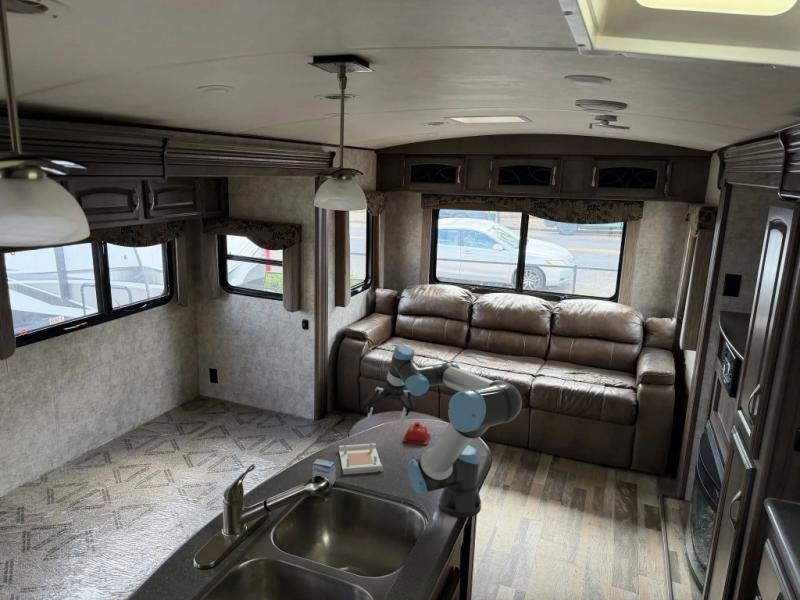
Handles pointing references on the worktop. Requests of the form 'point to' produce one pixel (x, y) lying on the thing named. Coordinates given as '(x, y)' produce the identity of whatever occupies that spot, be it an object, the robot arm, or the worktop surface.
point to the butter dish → (417, 434)
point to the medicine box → (324, 469)
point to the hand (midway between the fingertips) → (385, 419)
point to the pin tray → (359, 458)
